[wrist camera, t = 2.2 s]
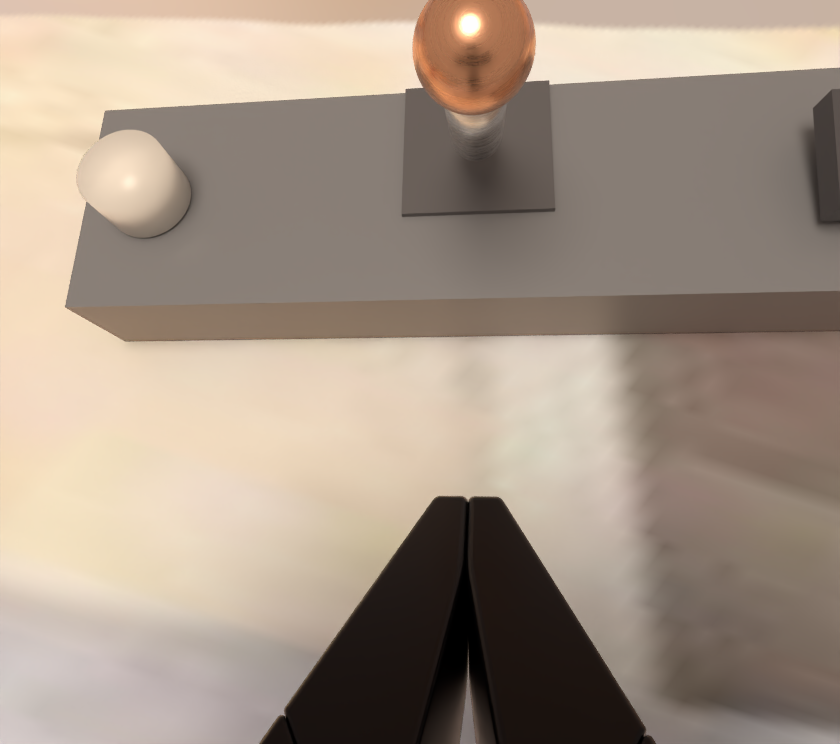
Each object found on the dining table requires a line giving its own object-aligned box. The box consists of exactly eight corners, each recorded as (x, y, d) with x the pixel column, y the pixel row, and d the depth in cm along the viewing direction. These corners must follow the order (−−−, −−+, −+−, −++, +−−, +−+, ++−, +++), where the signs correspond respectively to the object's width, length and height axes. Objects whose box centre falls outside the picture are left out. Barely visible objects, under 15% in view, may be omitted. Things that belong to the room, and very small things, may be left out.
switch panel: (883, 329, 20) (967, 285, 17) (124, 341, 23) (61, 305, 20) (842, 134, 23) (909, 59, 19) (154, 167, 26) (101, 107, 22)
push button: (185, 236, 20) (157, 207, 19) (103, 239, 21) (68, 211, 19) (196, 161, 21) (170, 127, 19) (117, 165, 21) (85, 131, 20)
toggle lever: (514, 176, 19) (541, 90, 10) (440, 179, 19) (406, 98, 11) (514, 98, 19) (542, -58, 10) (438, 102, 19) (403, -46, 10)
